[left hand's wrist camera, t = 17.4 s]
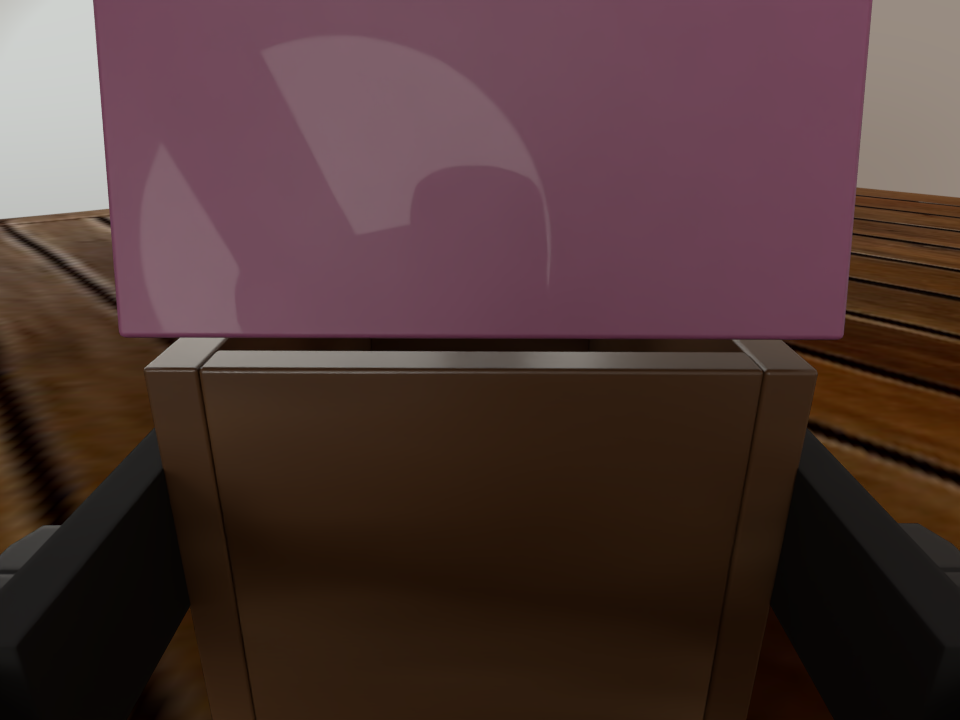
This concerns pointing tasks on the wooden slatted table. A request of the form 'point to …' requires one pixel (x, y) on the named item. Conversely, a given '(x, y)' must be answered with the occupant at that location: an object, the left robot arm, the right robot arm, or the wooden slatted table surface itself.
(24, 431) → the wooden slatted table surface
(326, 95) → the lid
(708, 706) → the chest
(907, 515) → the wooden slatted table surface
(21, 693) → the left robot arm
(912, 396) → the wooden slatted table surface
